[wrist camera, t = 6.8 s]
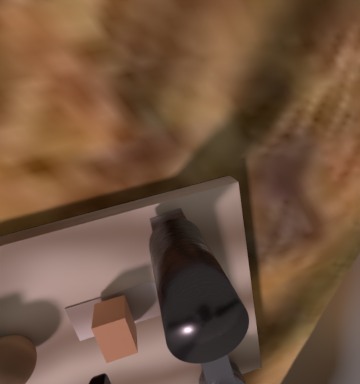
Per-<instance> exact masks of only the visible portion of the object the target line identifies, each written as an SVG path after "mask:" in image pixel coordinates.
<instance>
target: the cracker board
mask: <svg viewBox="0 0 360 384" xmlns="http://www.w3.org/2000/svg"><path fill="white" fill-rule="evenodd" d="M179 208H181V210H182V211H183V213H184V215H185V217H186V219H187V220H189V221H191V222H192V223H194V224H195V225H196V226H197V227H198V229H199V230H200V232H201V234H202V235H203V237H204V239H205V240H206V242H207V244H208V245H209V247H210V249H211V251H212V252H213V254H214V256H215V257H216V259H217V261H218V262H219V264H220V266H221V267H222V269H223V271H224V273H225V274H226V276H227V278H228V279H229V281H230V283H231V284H232V286H233V288H234V289H235V291H236V293H237V294H238V296H239V298H240V300H241V301H242V303H243V305H244V306H245V308H246V310H247V312H248V315H249V327H248V330H247V333H246V335H245V337H244V339H243V340H242V341H241V343H240V344H239V345H238V346H237V347H236V348H235V349H234V350H233V351H232V352H230V353H229V354H227V355H228V358H229V361H230V362H233V363H235V364H236V365H237V366H238V368H239V370H240V372H241V374H245V373H248V372H250V371H253V370H256V369H259V368H261V367H262V365H261V357H260V349H259V342H258V334H257V326H256V318H255V310H254V302H253V294H252V286H251V278H250V270H249V262H248V254H247V246H246V238H245V230H244V222H243V214H242V206H241V198H240V191H239V183H238V181H237V180H235V179H234V178H233V177H231V176H230V175H229V176H225V177H222V178H218V179H214V180H210V181H207V182H203V183H199V184H195V185H192V186H188V187H184V188H180V189H177V190H173V191H169V192H165V193H162V194H158V195H154V196H150V197H147V198H143V199H139V200H135V201H132V202H128V203H124V204H120V205H117V206H113V207H109V208H105V209H102V210H98V211H94V212H90V213H87V214H83V215H79V216H75V217H72V218H68V219H64V220H60V221H57V222H53V223H49V224H45V225H42V226H38V227H34V228H30V229H27V230H23V231H19V232H15V233H12V234H8V235H4V236H0V384H89V382H90V380H91V379H92V378H93V377H94V376H97V375H100V374H103V373H106V374H107V376H108V378H109V380H110V382H111V384H199V377H200V375H201V373H202V372H203V370H202V368H201V365H200V364H194V363H187V362H183V361H181V360H179V359H177V358H176V357H174V356H173V355H172V354H171V352H170V351H169V349H168V347H167V344H166V339H165V334H164V328H163V323H162V317H161V312H160V306H159V301H158V295H157V290H156V284H155V279H154V273H153V268H152V262H151V257H150V251H149V239H150V236H151V234H152V232H153V231H152V227H151V223H150V218H153V217H155V216H158V215H161V214H164V213H167V212H170V211H173V210H176V209H179ZM122 295H125V297H126V300H127V303H128V306H129V308H130V311H131V314H132V317H133V320H134V322H135V325H136V330H137V346H138V353H136V354H133V355H130V356H127V357H124V358H121V359H118V360H115V361H112V362H109V363H106V361H105V359H104V356H103V354H102V352H101V350H100V347H99V345H98V343H97V341H96V338H95V336H94V334H93V332H92V329H91V327H92V319H93V312H94V304H96V303H100V302H103V301H106V300H109V299H113V298H116V297H119V296H122Z"/></svg>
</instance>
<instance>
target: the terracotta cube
mask: <svg viewBox="0 0 360 384" xmlns="http://www.w3.org/2000/svg"><path fill="white" fill-rule="evenodd" d="M91 329H92V332H93V334H94V336H95V338H96V341H97V343H98V345H99V347H100V350H101V352H102V354H103V356H104V359H105V361H106V363H109V362H112V361H115V360H118V359H121V358H124V357H127V356H130V355H133V354H136V353H138V346H137V330H136V325H135V322H134V320H133V317H132V314H131V311H130V308H129V306H128V303H127V300H126V297H125V295H122V296H119V297H116V298H113V299H109V300H106V301H103V302H100V303H96V304H94V312H93V319H92V327H91Z"/></svg>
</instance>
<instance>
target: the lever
mask: <svg viewBox="0 0 360 384" xmlns="http://www.w3.org/2000/svg"><path fill="white" fill-rule="evenodd" d="M150 223H151V227H152V231H153V232H152V234H151V236H150V239H149V251H150V257H151V262H152V268H153V273H154V279H155V284H156V290H157V295H158V301H159V306H160V312H161V317H162V323H163V328H164V334H165V339H166V344H167V347H168V349H169V351H170V352H171V354H172V355H173V356H174V357H176V358H177V359H179V360H181V361H183V362H187V363H194V364H200V365H201V368H202V370H203V372H202V373H201V375H200V377H199V384H245V381H244V379H243V377H242V374H241V372H240V370H239V368H238V366H237V365H236V364H235V363H233V362H230V361H229V358H228V355H227V354H229V353H230V352H232V351H233V350H234V349H235V348H236V347H237V346H238V345H239V344H240V343H241V341H242V340H243V339H244V337H245V335H246V333H247V330H248V327H249V315H248V312H247V310H246V308H245V306H244V305H243V303H242V301H241V300H240V298H239V296H238V294H237V293H236V291H235V289H234V288H233V286H232V284H231V283H230V281H229V279H228V278H227V276H226V274H225V273H224V271H223V269H222V267H221V266H220V264H219V262H218V261H217V259H216V257H215V256H214V254H213V252H212V251H211V249H210V247H209V245H208V244H207V242H206V240H205V239H204V237H203V235H202V234H201V232H200V230H199V229H198V227H197V226H196V225H195V224H194V223H192V222H191V221H189V220H187V219H186V217H185V215H184V213H183V211H182V210H181V208H179V209H176V210H173V211H170V212H167V213H164V214H161V215H158V216H155V217H153V218H150Z"/></svg>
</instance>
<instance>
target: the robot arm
mask: <svg viewBox="0 0 360 384" xmlns="http://www.w3.org/2000/svg"><path fill="white" fill-rule="evenodd" d="M89 384H111V382H110V380H109V378H108V376H107V374H106V373H103V374H100V375H97V376H94V377H93V378H92V379H91V380H90V382H89Z"/></svg>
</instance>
